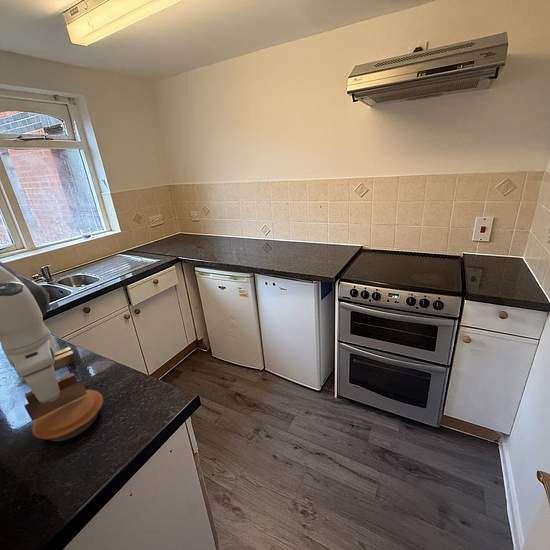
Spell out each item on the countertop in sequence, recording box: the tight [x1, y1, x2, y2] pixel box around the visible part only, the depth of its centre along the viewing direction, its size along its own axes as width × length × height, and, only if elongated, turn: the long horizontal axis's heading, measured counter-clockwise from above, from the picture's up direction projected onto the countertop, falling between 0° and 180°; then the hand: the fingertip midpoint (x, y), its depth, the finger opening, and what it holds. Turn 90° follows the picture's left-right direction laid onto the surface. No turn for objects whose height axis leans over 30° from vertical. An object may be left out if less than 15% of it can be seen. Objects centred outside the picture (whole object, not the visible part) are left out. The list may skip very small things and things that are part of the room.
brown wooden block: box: [23, 372, 87, 422], centre depth 75 cm, size 12×2×7 cm, turn 132°
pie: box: [31, 389, 104, 442], centre depth 76 cm, size 15×16×5 cm
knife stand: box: [22, 346, 77, 383], centre depth 99 cm, size 14×6×4 cm, turn 132°
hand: (53, 395), depth 74 cm, fingers closed on brown wooden block, 2 cm apart
